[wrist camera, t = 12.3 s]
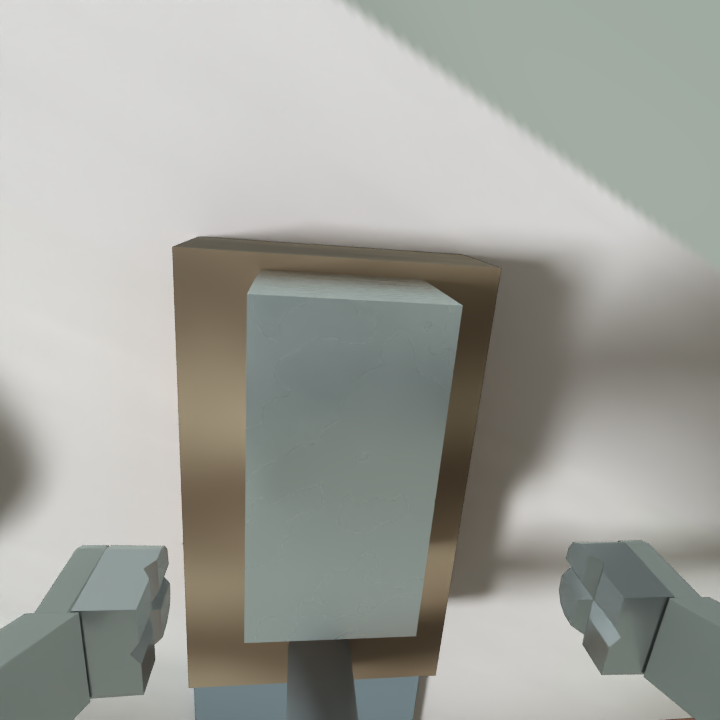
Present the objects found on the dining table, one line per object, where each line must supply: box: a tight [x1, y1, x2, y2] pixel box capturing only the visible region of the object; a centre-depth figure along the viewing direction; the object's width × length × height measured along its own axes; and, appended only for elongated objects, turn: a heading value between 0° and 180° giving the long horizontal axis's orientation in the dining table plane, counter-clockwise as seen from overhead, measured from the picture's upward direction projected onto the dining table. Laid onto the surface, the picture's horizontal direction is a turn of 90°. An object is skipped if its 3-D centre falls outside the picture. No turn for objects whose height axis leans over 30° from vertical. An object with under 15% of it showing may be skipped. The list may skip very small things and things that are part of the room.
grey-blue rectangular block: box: [244, 270, 463, 643], centre depth 15 cm, size 10×5×4 cm, turn 176°
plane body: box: [172, 237, 501, 688], centre depth 19 cm, size 17×10×4 cm, turn 176°
